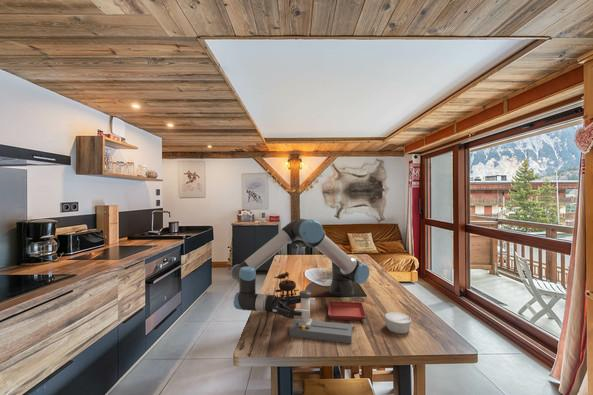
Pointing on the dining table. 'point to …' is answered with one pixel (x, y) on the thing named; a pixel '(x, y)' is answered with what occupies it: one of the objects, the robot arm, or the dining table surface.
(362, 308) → the plant saucer
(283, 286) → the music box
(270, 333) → the dining table surface
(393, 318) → the ramekin
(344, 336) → the fader console
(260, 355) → the dining table surface
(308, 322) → the handle
